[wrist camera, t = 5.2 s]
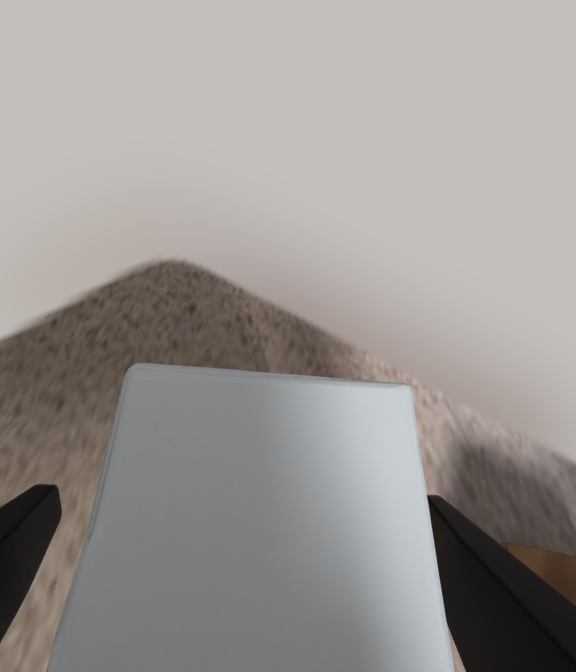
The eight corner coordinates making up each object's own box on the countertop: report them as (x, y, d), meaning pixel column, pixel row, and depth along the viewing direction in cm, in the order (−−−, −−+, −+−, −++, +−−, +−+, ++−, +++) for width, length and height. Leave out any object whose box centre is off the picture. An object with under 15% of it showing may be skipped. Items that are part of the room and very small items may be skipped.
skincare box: (289, 613, 13) (555, 1221, 2) (178, 616, 13) (-168, 1440, 2) (291, 451, 16) (423, 374, 5) (198, 447, 15) (110, 353, 4)
